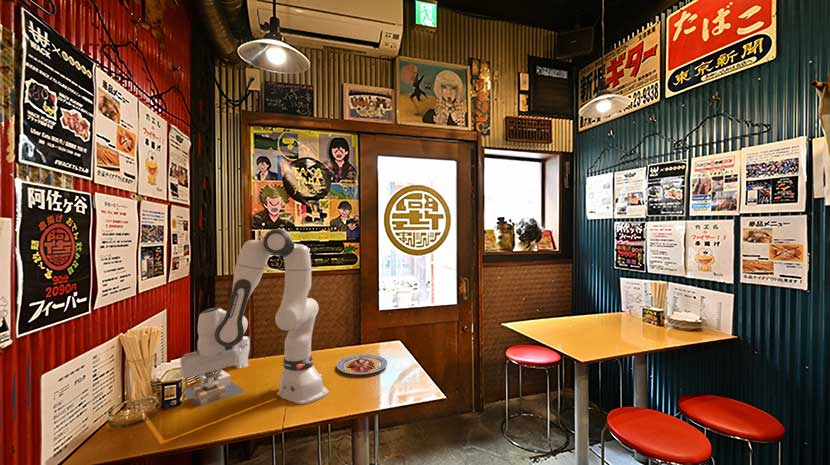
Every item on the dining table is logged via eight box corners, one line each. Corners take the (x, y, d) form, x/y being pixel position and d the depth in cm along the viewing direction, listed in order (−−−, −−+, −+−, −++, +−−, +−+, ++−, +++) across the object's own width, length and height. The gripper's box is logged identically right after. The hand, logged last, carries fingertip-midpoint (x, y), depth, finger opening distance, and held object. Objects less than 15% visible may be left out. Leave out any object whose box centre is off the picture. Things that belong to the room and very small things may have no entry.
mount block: (225, 397, 139) (225, 387, 139) (201, 405, 132) (201, 395, 132) (217, 390, 145) (217, 380, 145) (193, 397, 138) (193, 388, 138)
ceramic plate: (325, 369, 171) (325, 363, 171) (361, 354, 192) (361, 349, 192) (363, 383, 156) (363, 376, 156) (397, 365, 177) (397, 359, 177)
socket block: (230, 384, 150) (230, 375, 150) (208, 391, 143) (208, 382, 143) (222, 378, 156) (222, 370, 156) (200, 385, 149) (200, 376, 149)
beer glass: (243, 370, 167) (243, 340, 167) (231, 369, 169) (231, 339, 169) (252, 365, 174) (252, 336, 174) (240, 364, 175) (241, 335, 175)
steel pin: (217, 396, 139) (217, 372, 139) (206, 400, 135) (206, 375, 136) (213, 393, 141) (213, 369, 141) (202, 396, 138) (202, 372, 138)
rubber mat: (245, 393, 144) (245, 391, 144) (197, 410, 130) (197, 407, 130) (224, 378, 158) (224, 376, 158) (179, 392, 144) (179, 390, 144)
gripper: (183, 356, 128) (182, 393, 128) (239, 343, 144) (238, 375, 144) (177, 353, 132) (177, 388, 132) (232, 340, 148) (232, 371, 148)
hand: (210, 381), depth 138 cm, fingers closed on steel pin, 3 cm apart
